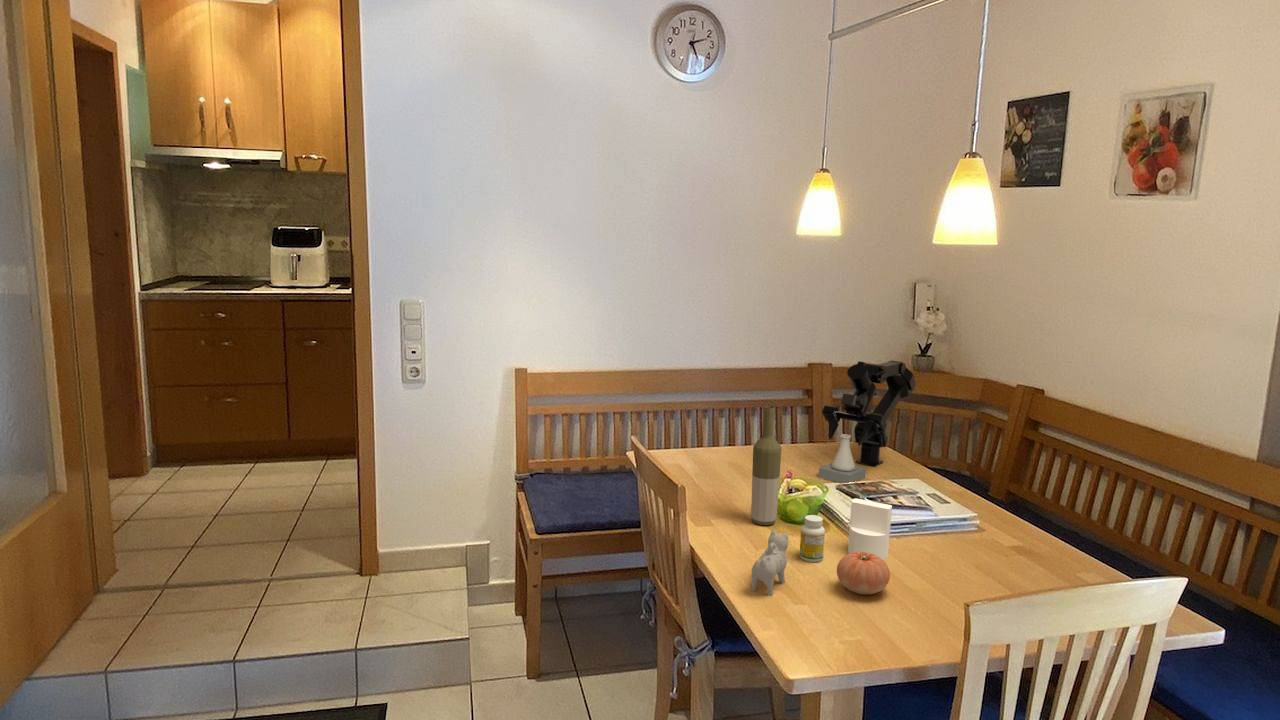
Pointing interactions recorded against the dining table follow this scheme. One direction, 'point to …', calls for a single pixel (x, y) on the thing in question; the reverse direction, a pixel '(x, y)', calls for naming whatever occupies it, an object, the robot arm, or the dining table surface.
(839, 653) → the dining table surface
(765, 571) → the dog figurine
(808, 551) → the supplement bottle
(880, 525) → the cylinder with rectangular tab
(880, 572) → the pumpkin
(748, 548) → the dining table surface
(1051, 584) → the dining table surface
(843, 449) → the flask
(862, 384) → the robot arm
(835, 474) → the dock
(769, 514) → the bottle
